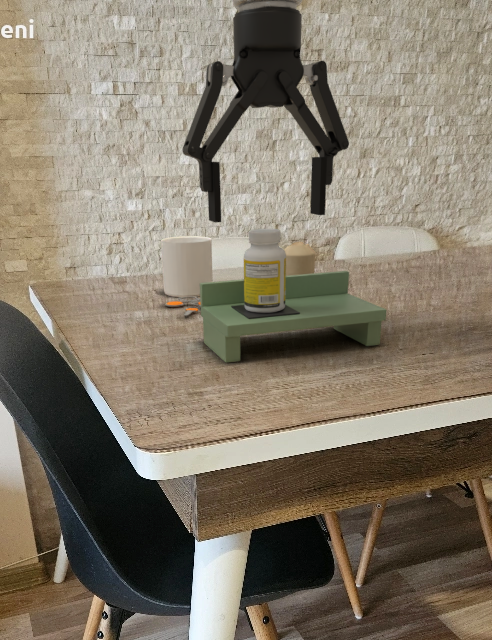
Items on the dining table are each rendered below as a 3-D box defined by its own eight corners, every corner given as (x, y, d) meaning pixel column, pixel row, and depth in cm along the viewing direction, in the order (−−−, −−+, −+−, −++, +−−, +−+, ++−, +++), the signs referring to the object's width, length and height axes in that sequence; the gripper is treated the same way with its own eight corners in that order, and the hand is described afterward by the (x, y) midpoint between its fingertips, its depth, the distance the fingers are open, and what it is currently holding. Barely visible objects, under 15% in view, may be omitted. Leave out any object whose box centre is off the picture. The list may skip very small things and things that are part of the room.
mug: (217, 295, 120) (216, 241, 116) (167, 299, 118) (164, 244, 114) (204, 283, 130) (203, 233, 126) (158, 286, 129) (155, 235, 124)
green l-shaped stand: (383, 346, 89) (389, 285, 86) (228, 365, 83) (226, 300, 80) (342, 325, 99) (346, 270, 96) (201, 340, 94) (199, 282, 90)
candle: (281, 301, 115) (282, 240, 110) (313, 302, 114) (316, 240, 109) (278, 308, 110) (279, 245, 105) (312, 309, 109) (314, 245, 104)
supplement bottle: (260, 302, 91) (261, 226, 87) (293, 307, 88) (295, 229, 83) (235, 310, 87) (234, 231, 83) (268, 315, 84) (269, 234, 80)
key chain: (160, 301, 116) (159, 296, 115) (199, 297, 118) (199, 292, 118) (182, 317, 105) (181, 312, 105) (225, 313, 107) (225, 307, 107)
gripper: (353, 17, 79) (344, 209, 89) (148, 14, 73) (162, 221, 82) (386, 5, 73) (372, 213, 82) (164, 1, 66) (177, 227, 76)
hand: (267, 218), depth 82 cm, fingers open, 13 cm apart
